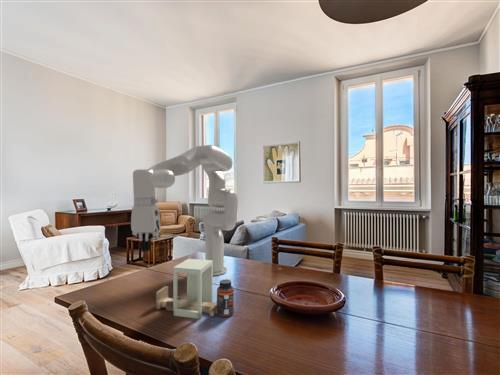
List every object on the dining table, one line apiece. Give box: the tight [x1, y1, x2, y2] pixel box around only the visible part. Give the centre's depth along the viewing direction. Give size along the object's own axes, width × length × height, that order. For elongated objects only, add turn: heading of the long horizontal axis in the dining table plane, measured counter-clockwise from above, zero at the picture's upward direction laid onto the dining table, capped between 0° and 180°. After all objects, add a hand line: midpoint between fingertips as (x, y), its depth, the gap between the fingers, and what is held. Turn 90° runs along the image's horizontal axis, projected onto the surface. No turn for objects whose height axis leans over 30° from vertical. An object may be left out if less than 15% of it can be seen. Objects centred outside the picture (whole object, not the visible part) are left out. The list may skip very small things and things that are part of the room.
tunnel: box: [172, 258, 214, 320], centre depth 94 cm, size 11×10×16 cm
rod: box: [155, 285, 217, 317], centre depth 95 cm, size 22×7×6 cm, turn 77°
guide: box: [165, 295, 182, 312], centre depth 96 cm, size 5×3×3 cm, turn 167°
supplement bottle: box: [216, 279, 235, 318], centre depth 91 cm, size 6×6×11 cm
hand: (146, 250), depth 99 cm, fingers closed
